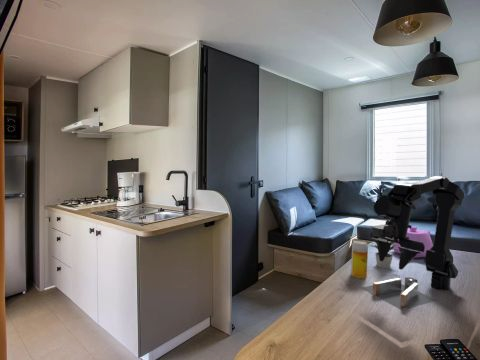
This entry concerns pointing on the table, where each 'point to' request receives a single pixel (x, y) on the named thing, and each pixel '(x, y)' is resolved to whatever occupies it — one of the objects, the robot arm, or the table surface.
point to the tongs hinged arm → (409, 291)
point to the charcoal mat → (395, 297)
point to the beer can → (359, 259)
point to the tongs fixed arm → (386, 286)
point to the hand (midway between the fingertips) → (390, 265)
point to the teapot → (417, 236)
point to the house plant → (387, 259)
